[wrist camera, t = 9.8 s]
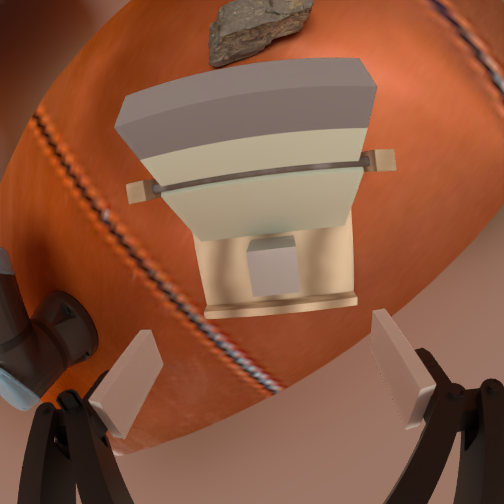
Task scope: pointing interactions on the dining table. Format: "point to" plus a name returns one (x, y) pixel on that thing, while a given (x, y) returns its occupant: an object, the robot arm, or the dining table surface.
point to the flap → (255, 143)
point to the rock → (253, 27)
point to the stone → (273, 266)
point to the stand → (307, 241)
